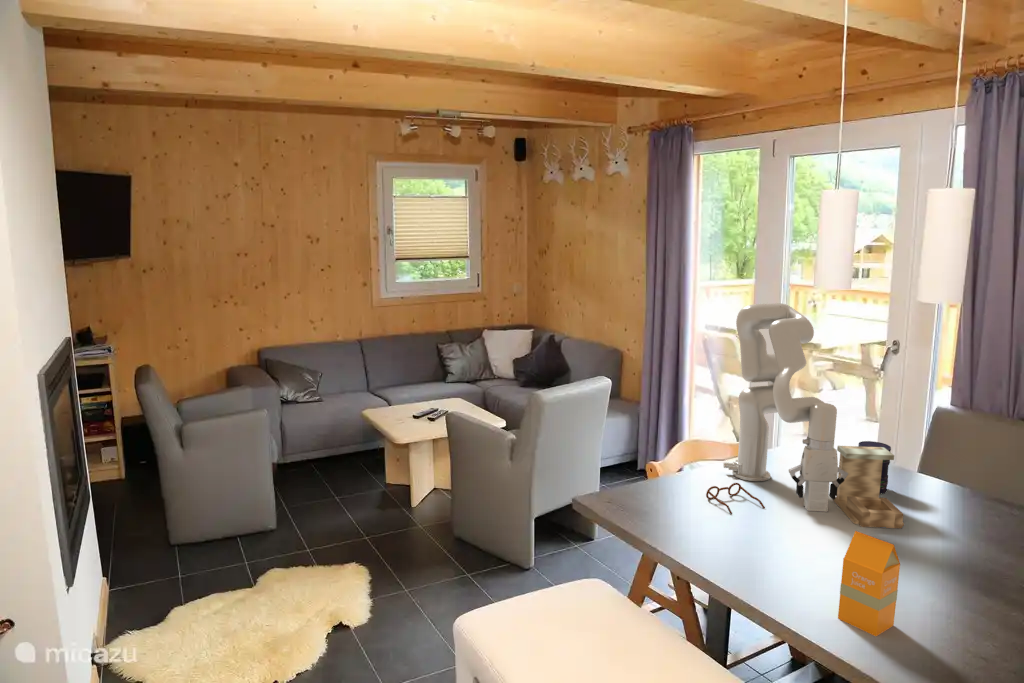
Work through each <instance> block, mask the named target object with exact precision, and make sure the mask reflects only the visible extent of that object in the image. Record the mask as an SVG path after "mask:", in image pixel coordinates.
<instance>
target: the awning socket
mask: <svg viewBox="0 0 1024 683" xmlns="http://www.w3.org/2000/svg"><path fill="white" fill-rule="evenodd" d="M836 450H837V452H839V461H838V462H839V463H838V467H839V468H840V469H842V470H844V471H846V472H847V473H848V475H847V477H846V478H845V480H844V482H843V483H841V484H840V485H839V487H838V489H837V496H835V499H833V500H832V501H833V502H834V503H835V504H836V505H837V507H838V508H839V509H840V510H841V511H842V512H843V513H844V514H845V515H846V516H847V518H848V519H849V518H850V519H849V520H850V521H851V522H852V523H853V524H855V525H858V526H860V527H863V528H880V527H886V528H885V529H901V528H903V527H904V526H905V522H903V520H904V513H903V511H901V510H900V509H899V508H898V507H897V506H895V505H894V503H893V502H892V501H890V500H889V499H888V498H887V497H880V494H879V493H880V483H881V473H882V463H883V460H890V461H894V460H895V455H894V454H893V452H891V451H890V452H889V451H888V450H887V449H885V448H884V447H860V446H856V445H855V446H854V445H853V446H852V445H837V449H836ZM840 475H841V474H840V473H839V472H838V477H837V478H839V477H840Z"/></svg>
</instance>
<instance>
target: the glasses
mask: <svg viewBox="0 0 1024 683" xmlns="http://www.w3.org/2000/svg"><path fill="white" fill-rule="evenodd" d="M734 486H738V490H737V491H736V492H734V493H731V489H732V487H734ZM713 489H716V490H717V491H716V494H715V495H714V494H713V493H712V491H711V490H713ZM723 490H727V493H728V495H729V496H730V495H734V496H737V495H739V493H741V492H740V491H741V490H742V491H743V492H744V493H745V494H746V495H748V496H749V497H750V498H752V499H753V500H756V501H757V502H758V503H759V504H760V506H761V507H762V509H764V508H766V506H765V505H764V504H763V502H762V501H761V500H760V499H759V498H757V497H755V496H754V495H752V494H751V493H750V492H749V491H747V490H746V489H745V488H744V487H743V486H742V485H741V484H740V483H738V482H733V483H731V484H730V485H729V486H725V487H720V488H719V487H718V486H716V485H713V486H710V487H709V488H708V489H707V490H706V493H705V496H706V499H707V500H715V501H717V502H718V503H719V504H721V505H723V506H725V507H726V508H727V511H728V513H729V514H730V513H731V514H733V512H732V510H731V508H730V507H729V505H728V504H727V503H726V502H725V501H724V502H723V501H722V500H720V499H719V498H718V496H719V494H720V492H721V491H723ZM709 495H710V496H711V497H709ZM713 498H714V499H713ZM731 514H730V515H731Z"/></svg>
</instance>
